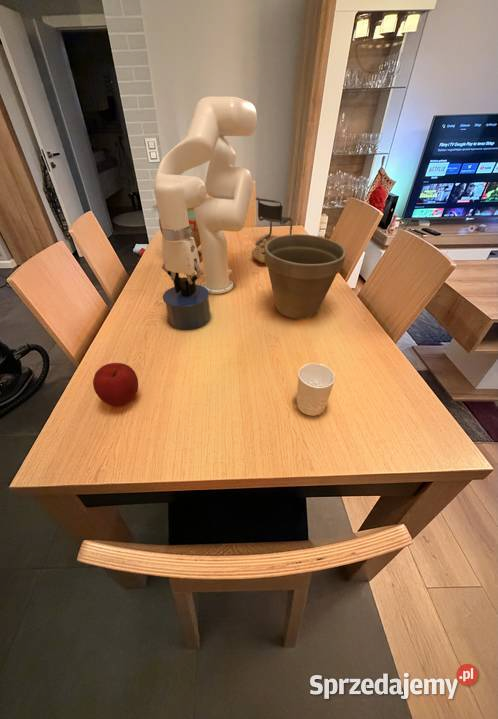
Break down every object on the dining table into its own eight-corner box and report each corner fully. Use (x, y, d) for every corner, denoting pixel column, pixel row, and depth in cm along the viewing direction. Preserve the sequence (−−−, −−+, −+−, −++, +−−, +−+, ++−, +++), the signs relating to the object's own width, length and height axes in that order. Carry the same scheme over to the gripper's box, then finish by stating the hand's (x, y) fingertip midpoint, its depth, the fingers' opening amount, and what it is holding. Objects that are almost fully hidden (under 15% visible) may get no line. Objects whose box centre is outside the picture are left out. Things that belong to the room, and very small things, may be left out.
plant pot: (349, 314, 102) (364, 252, 88) (291, 337, 93) (298, 270, 79) (302, 286, 119) (309, 229, 105) (249, 302, 109) (249, 242, 95)
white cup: (291, 394, 75) (295, 364, 68) (322, 392, 75) (329, 362, 69) (297, 419, 69) (302, 389, 62) (331, 416, 69) (339, 386, 63)
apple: (121, 421, 69) (107, 391, 62) (94, 404, 72) (78, 374, 66) (151, 395, 75) (141, 365, 68) (124, 381, 78) (113, 351, 72)
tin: (183, 305, 108) (180, 283, 102) (217, 312, 104) (215, 290, 98) (161, 324, 98) (156, 301, 93) (197, 333, 94) (194, 310, 89)
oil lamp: (253, 268, 132) (254, 250, 127) (250, 255, 143) (250, 238, 138) (278, 267, 133) (279, 249, 127) (272, 254, 144) (273, 237, 139)
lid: (179, 284, 103) (176, 266, 99) (217, 291, 99) (215, 273, 95) (154, 304, 93) (149, 285, 89) (194, 313, 89) (191, 294, 85)
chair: (254, 245, 153) (254, 197, 139) (270, 235, 165) (271, 190, 150) (276, 249, 148) (279, 200, 134) (291, 239, 159) (295, 193, 145)
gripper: (209, 232, 83) (214, 292, 95) (159, 225, 88) (170, 283, 100) (195, 241, 78) (203, 303, 90) (143, 233, 83) (156, 292, 95)
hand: (185, 291), depth 95 cm, fingers open, 4 cm apart
